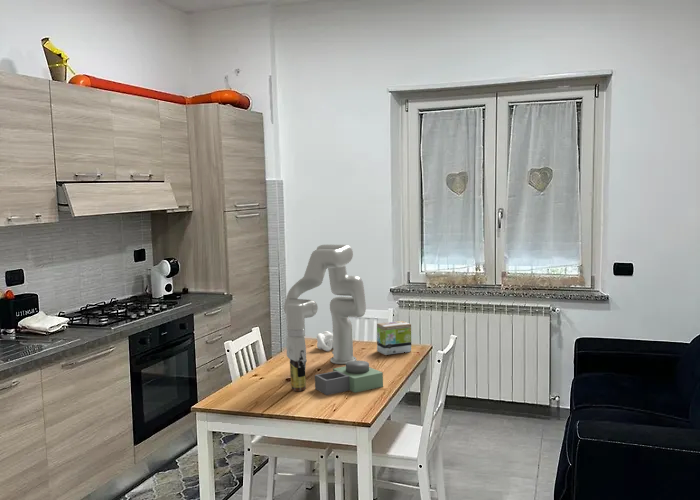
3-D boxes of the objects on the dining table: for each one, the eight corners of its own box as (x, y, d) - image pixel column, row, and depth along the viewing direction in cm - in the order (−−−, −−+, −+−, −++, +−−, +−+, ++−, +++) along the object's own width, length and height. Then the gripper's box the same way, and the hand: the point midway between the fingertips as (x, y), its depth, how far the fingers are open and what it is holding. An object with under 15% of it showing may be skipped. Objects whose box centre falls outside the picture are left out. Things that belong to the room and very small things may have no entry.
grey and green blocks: (310, 386, 274) (310, 366, 274) (360, 376, 287) (360, 356, 286) (331, 397, 259) (330, 375, 258) (383, 386, 272) (382, 365, 271)
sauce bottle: (292, 387, 274) (289, 341, 272) (306, 386, 274) (304, 341, 272) (290, 392, 268) (287, 345, 266) (305, 391, 267) (302, 344, 265)
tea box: (385, 355, 321) (384, 326, 320) (376, 351, 330) (376, 323, 329) (412, 352, 327) (411, 323, 326) (402, 347, 336) (402, 319, 335)
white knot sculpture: (338, 346, 344) (337, 329, 343) (339, 351, 332) (338, 334, 331) (317, 347, 343) (316, 330, 342) (317, 352, 331) (316, 335, 330)
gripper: (279, 330, 274) (281, 371, 276) (296, 337, 259) (298, 381, 261) (295, 327, 277) (297, 368, 279) (313, 335, 263) (315, 377, 264)
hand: (297, 374), depth 270 cm, fingers closed on sauce bottle, 6 cm apart
